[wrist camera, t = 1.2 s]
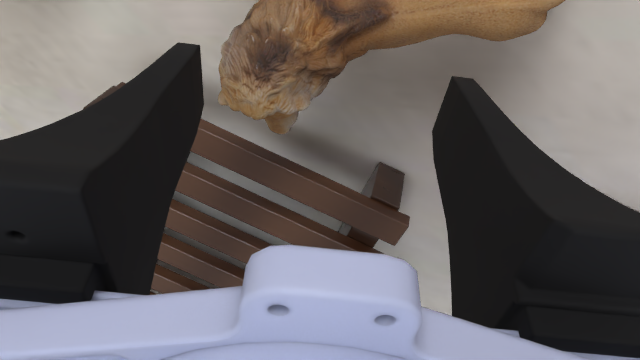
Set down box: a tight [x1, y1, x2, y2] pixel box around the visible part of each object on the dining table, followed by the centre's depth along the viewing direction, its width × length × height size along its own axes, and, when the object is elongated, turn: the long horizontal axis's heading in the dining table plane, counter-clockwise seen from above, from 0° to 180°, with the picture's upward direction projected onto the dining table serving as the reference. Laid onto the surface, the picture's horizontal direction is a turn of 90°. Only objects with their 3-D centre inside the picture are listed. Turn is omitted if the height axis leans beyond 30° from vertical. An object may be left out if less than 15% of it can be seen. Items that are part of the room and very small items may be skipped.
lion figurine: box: [218, 0, 565, 134], centre depth 19 cm, size 15×5×9 cm, turn 113°
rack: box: [84, 82, 410, 295], centre depth 31 cm, size 16×20×6 cm
